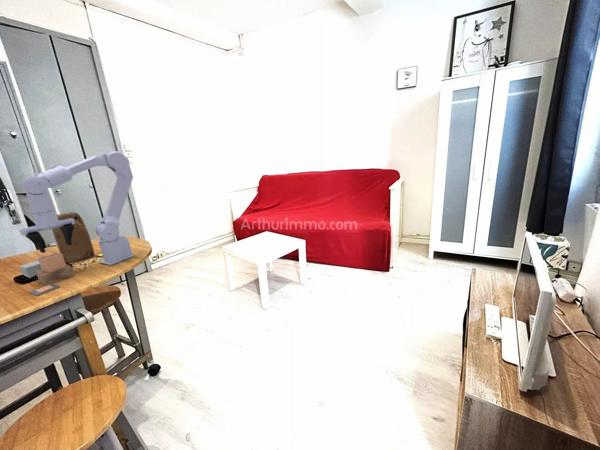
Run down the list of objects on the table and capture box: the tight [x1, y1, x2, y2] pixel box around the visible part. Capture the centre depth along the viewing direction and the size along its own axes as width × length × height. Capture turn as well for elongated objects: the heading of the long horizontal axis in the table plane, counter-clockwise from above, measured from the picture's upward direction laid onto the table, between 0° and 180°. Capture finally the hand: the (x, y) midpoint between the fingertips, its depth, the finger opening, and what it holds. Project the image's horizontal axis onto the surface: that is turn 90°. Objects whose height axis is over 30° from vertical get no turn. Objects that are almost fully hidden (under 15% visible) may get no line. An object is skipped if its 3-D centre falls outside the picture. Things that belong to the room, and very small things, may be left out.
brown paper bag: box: [51, 211, 95, 263], centre depth 111 cm, size 11×8×20 cm
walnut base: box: [35, 263, 75, 286], centre depth 95 cm, size 8×8×4 cm
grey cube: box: [19, 260, 42, 278], centre depth 97 cm, size 5×5×5 cm
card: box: [28, 283, 61, 297], centre depth 87 cm, size 6×6×1 cm
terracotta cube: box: [37, 252, 67, 273], centre depth 93 cm, size 5×5×5 cm
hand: (56, 248), depth 95 cm, fingers open, 7 cm apart
